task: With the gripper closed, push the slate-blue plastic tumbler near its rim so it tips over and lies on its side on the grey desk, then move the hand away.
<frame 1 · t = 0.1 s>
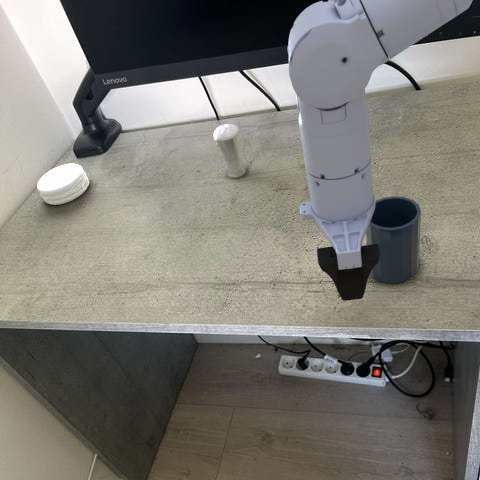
hand: (349, 272, 53), 10 cm above the table, tool pointing down, fingers open, 7 cm apart
tumbler: (392, 266, 65), on the table
milkshake: (239, 173, 90), on the table
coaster: (68, 192, 101), on the table
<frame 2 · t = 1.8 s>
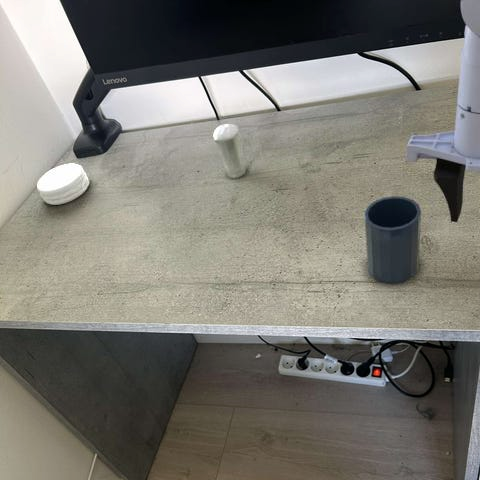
hand: (474, 218, 54), 9 cm above the table, tool pointing down, fingers open, 3 cm apart
nothing on the table moved.
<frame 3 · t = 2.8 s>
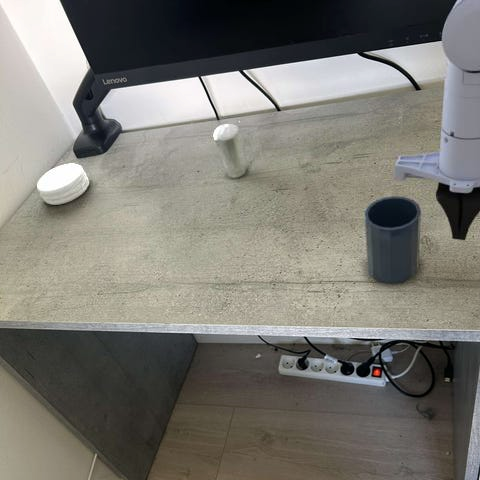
hand: (460, 234, 57), 7 cm above the table, tool pointing down, fingers closed
nothing on the table moved.
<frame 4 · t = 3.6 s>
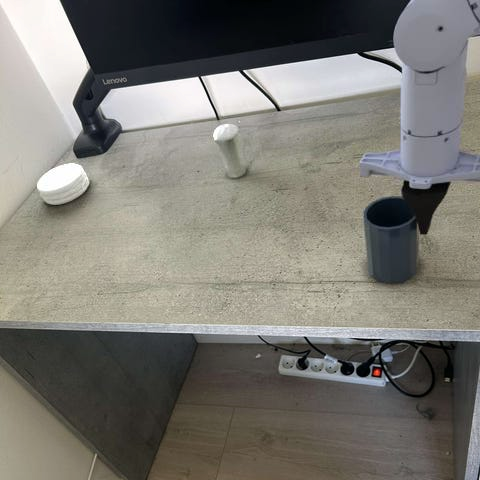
hand: (425, 229, 58), 7 cm above the table, tool pointing down, fingers closed, pressing on tumbler
tumbler: (392, 266, 65), on the table, touching gripper
everything else where it was.
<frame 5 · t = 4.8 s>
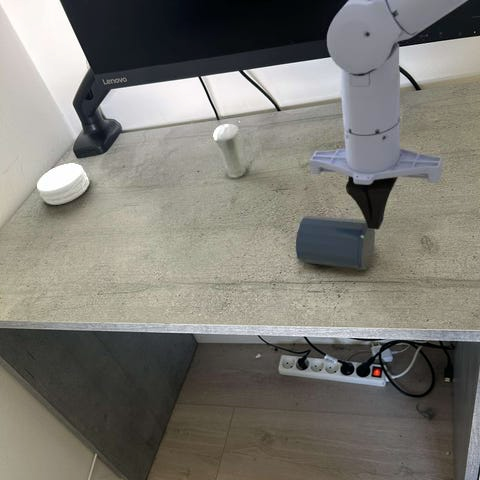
hand: (375, 223, 61), 7 cm above the table, tool pointing down, fingers closed
tumbler: (368, 245, 64), point 3 cm above the table, tilted 90°
everything else where it was.
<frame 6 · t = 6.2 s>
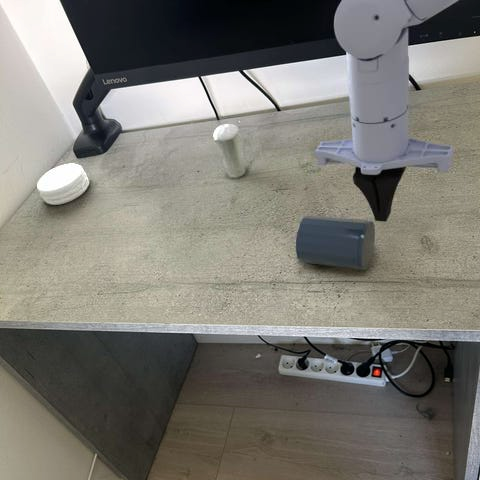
hand: (382, 216, 60), 8 cm above the table, tool pointing down, fingers closed
nothing on the table moved.
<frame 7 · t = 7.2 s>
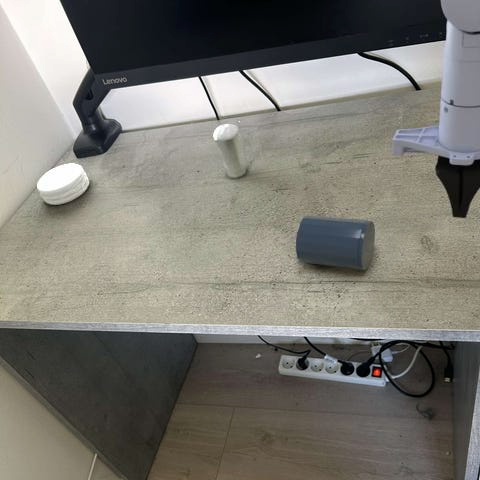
hand: (460, 212, 55), 10 cm above the table, tool pointing down, fingers closed
nothing on the table moved.
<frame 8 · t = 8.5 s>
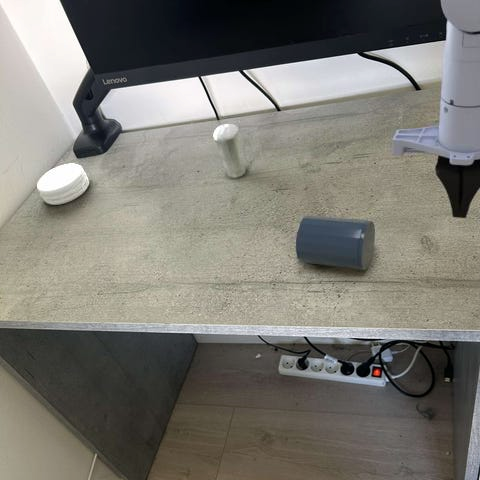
hand: (460, 212, 55), 10 cm above the table, tool pointing down, fingers closed
nothing on the table moved.
at the end: tumbler tilted 90°; tumbler point 3.2 cm above the table; milkshake moved 0.2 cm from its start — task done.
